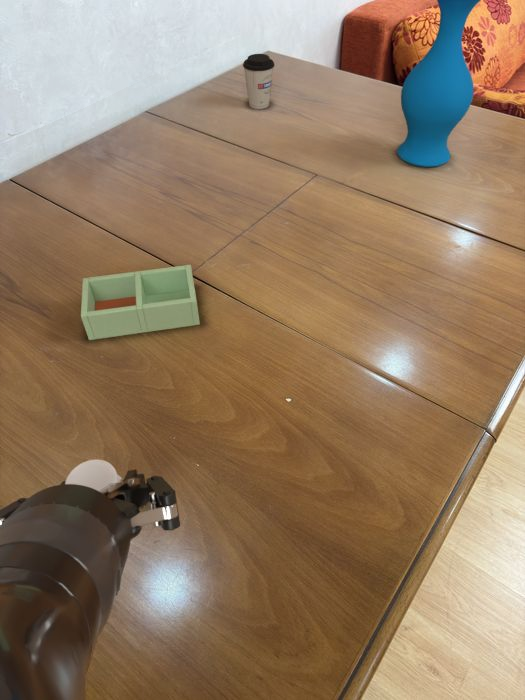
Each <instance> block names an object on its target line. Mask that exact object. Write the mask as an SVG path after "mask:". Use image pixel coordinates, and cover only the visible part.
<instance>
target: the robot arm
mask: <svg viewBox="0 0 525 700" xmlns="http://www.w3.org/2000/svg"><path fill="white" fill-rule="evenodd" d="M65 482H66V480H64V481H62V482H61V483H60V484H57V485H52V486H49V487H46V488H43V489H41V490H39V491H37V492H35V493H34V494H32V495H31V496H29V497H20V498H18V499H17V500H14V501H13V502H11V503H9V504H8V505H6V506H5V507H3V508H1V509H0V700H87V695H86V693H87V692H86V678H87V677H86V676H87V674H88V670H89V667H90V665H91V661H92V658H93V655H94V651H95V649H96V646H97V642H98V639H99V638H100V635H101V633H102V632H103V630H104V628H105V626H106V624H107V622H108V620H109V617H110V616H111V613H112V610H113V607H114V604H115V601H116V597H117V596H118V594H119V591H120V590H121V586H122V580H123V579H122V576H123V574H124V569H125V567H126V563H127V560H128V556H129V553H130V548H131V542H132V541H133V539H135V538H136V537H137V536H138V535H139V534H140V533H141V532H142V527H144V526H147V525H150V524H153V527H154V528H159V527H161V529H162V530H163V531H174V530H176V529H178V528H180V527H181V521H180V514H179V513H180V512H179V505H178V500H177V495H176V490H175V489H174V488H173V487H172V486H171V485H170V484H169V483H168V482H167V481H166V479H165V478H164V477H163V476H160V475H152V476H150V477H148V478H146V477H145V474H144V473H143V472H142V473H138V471H137V469H136V468H135V469H129V470H127V472H126V474H125V475H124V478H123V482H120V483H110V484H109V485H107V486H105V487H104V488H102V489H101V490H99V491H97V490H95V489H93V488H90V487H87V486H83V485H76V484H65ZM131 540H132V541H131ZM130 541H131V542H130Z"/></svg>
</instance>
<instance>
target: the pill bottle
mask: <svg viewBox="0 0 525 700" xmlns="http://www.w3.org/2000/svg"><path fill="white" fill-rule="evenodd" d="M123 480H124V478H122V477H121V475H119V473H117V470H116V468H115V467H114V466H113V465H112V464H111V463H110V462H108V461H107V460H104V459H97V458H96V459H88V460H85V461H83V462H80V464H78V465H77V466H75V467H74V468H73V469H72V470H71V471H70V472H69V474H68V475H67V477H66V479H65V481H66V482H65V484H76V485H83V486H87V487H90V488H93V489H95V490H97V491H99V490H101V489H102V488H104V487H105V486H107V485H109V484H110V483H120V482H123ZM132 541H133V539H132V540H131V541H130V543H131V542H132Z"/></svg>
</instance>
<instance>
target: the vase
mask: <svg viewBox="0 0 525 700" xmlns="http://www.w3.org/2000/svg"><path fill="white" fill-rule="evenodd" d="M436 1H437V4H438V8H439V14H440V15H439V16H440V17H439V25H438V30H437V33H436V37H435V39H434V41H433V43H432V45H431V47H430V48H429V50H428V52H427V53H426V54H425V55H424V56H423V57H422V59H421V60H419V62H418V63H417V64H416V65H414V67H413V68H412V69H411V71H410V72H409V73H408V75H407V77H405V80H404V82H403V84H402V88H401V92H400V106H401V111H402V114H403V116H404V119H405V120H404V121H405V123H406V126H407V127H406V128H407V133H406V134H407V135H406V137H405V140H404V141H403V142H402V143H401V144H400V145H399V146H398V148H397V149H396V153H397V155H398V157H399V158H400V159H401V160H402V161H403V162H406V163H408V164H410V165H413V166H416V167H422V168H433V167H439V166H442V165H444V164H446V163H448V162H449V160H450V159H451V153H450V150H449V148H448V138H449V136H450V135H451V134H452V132H453V130H454V129H455V128H456V126H457V125H458V124H459V123H460V122H461V121H462V119H463V118H464V117H465V116H466V114H467V113H468V111H469V109H470V107H471V104H472V103H473V102H472V101H473V98H474V91H475V90H474V89H475V87H474V81H473V76H472V75H471V71H470V69H469V68H468V65H467V62H466V59H465V56H464V51H463V33H464V29H465V25H466V22H467V20H468V17H469V15H470V13H471V12H472V11H473V10H474V8H475V7H476V6H477V4H478V3H480V2H481V0H436Z"/></svg>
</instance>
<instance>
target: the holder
mask: <svg viewBox="0 0 525 700" xmlns="http://www.w3.org/2000/svg"><path fill="white" fill-rule="evenodd" d="M81 287H82V289H81V304H80V305H81V306H80V319H81V322H82V324H83V327H84V330H85V333H86V335H87V338H88V341H92V340H101V339H106V338H107V339H108V338H114V337H121V336H128V335H137V334H144V333H150V332H156V331H157V332H158V331H163V330H164V331H165V330H171V329H178V328H186V327H193V326H198V325H200V324H201V323H200V315H199V307H198V301H197V295H196V289H195V281H194V276H193V269H192V265H191V264H185V265H175V266H170V267H161V268H152V269H146V270H145V269H144V270H139V271H138V270H137V271H129V272H122V273H115V274H106V275H100V276H92V277H90V276H89V277H84V278H82V286H81Z"/></svg>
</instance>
